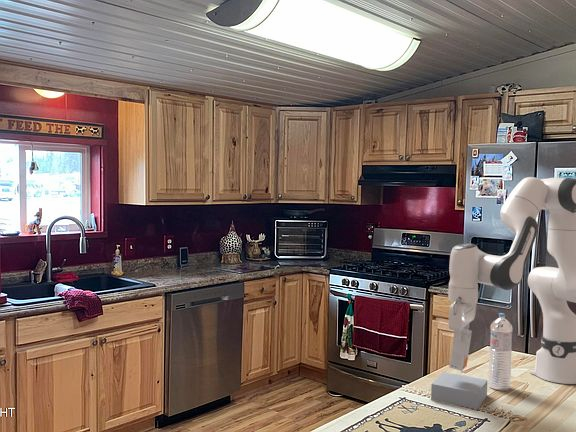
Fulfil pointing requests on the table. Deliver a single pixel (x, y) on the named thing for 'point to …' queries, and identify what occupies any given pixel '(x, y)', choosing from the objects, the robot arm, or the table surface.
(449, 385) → the base block
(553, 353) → the robot arm
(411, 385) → the table surface
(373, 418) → the table surface
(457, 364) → the skincare box
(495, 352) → the water bottle
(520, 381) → the table surface
